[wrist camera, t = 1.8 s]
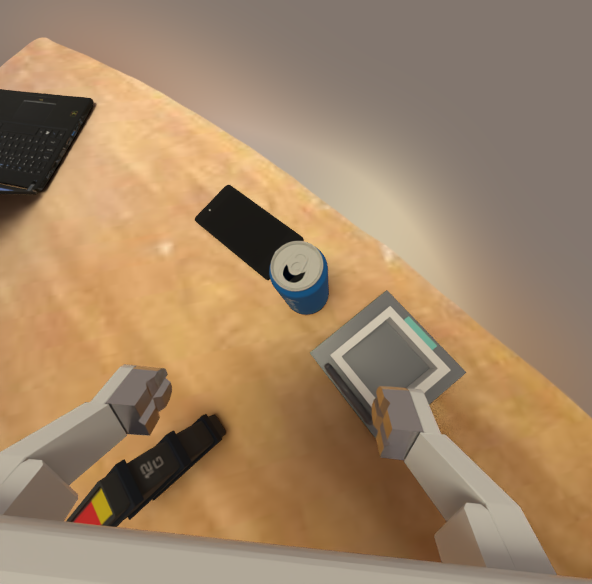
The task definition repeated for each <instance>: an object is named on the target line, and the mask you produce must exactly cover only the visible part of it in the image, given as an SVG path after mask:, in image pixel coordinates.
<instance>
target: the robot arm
mask: <svg viewBox="0 0 592 584" xmlns="http://www.w3.org/2000/svg"><path fill="white" fill-rule="evenodd" d="M166 376H167V372H166V369H164V368H155V367H146V366H137V365H126V364H124V365H123V366H121V367H120V368H119V369H118V370H117V371H116V372H115V373H114V375H113V376H112V377H111V378H110V379H109V380H108V382H107V383H106V384H105V385H104V386H103V388H102V389H101V390H100V391H99V392H98V393H97V395H96V396H95V397H94V398H93V399H92V401H91V402H85V403H84V404H82V405H80V406H78V407H77V408H75V409H73V410H72V411H70V412H68V413H67V414H65V415H63V416H61V417H60V418H58V419H56V420H55V421H53V422H51V423H49V424H48V425H46V426H44V427H43V428H41V429H39V430H37V431H36V432H34V433H32V434H31V435H29V436H27V437H25V438H24V439H22V440H20V441H19V442H17V443H15V444H13V445H12V446H10V447H8V448H7V449H5V450H3V451H1V452H0V584H592V579H588V578H579V577H570V576H561V575H557V574H556V572H555V570H554V569H553V567H552V565H551V563H550V561H549V559H548V558H547V556H546V554H545V552H544V550H543V548H542V546H541V545H540V543H539V541H538V539H537V537H536V535H535V534H534V532H533V530H532V528H531V526H530V524H529V522H528V521H527V519H526V517H525V515H524V513H523V511H522V510H521V508H520V506H519V505H518V504H517V503H515V502H514V501H513V500H512V499H511V498H510V497H509V496H508V495H507V494H506V493H505V492H504V491H503V490H502V489H501V488H500V487H499V486H498V485H497V484H496V483H495V482H494V481H493V480H492V479H491V478H490V477H489V476H488V475H487V474H486V473H485V472H484V471H483V470H481V469H480V468H479V467H478V466H477V465H476V464H475V463H474V462H473V461H472V460H471V459H470V458H469V457H468V456H467V455H466V454H465V453H464V452H463V451H462V450H461V449H460V448H459V447H458V446H457V445H456V444H455V443H454V442H453V441H452V440H451V439H450V438H449V437H448V436H446V435H444V434H441V432H440V430H439V428H438V425H437V423H436V421H435V418H434V416H433V413H432V411H431V409H430V406H429V404H428V401H427V399H426V397H425V394H424V392H423V391H422V390H421V389H409V388H401V387H386V386H379V387H378V388H377V391H376V394H377V398H375V399H374V400H373V404H372V420H373V425H374V427H375V428H376V429H377V430H378V433H377V436H376V441H377V446H378V451H379V456H380V457H382V458H390V459H398V460H404V462H405V464H406V465H407V467H408V468H409V469H410V471H411V472H412V474H413V475H414V476H415V478H416V479H417V481H418V482H419V483H420V485H421V486H422V488H423V489H424V491H425V492H426V493H427V495H428V496H429V498H430V499H431V500H432V502H433V503H434V505H435V506H436V507H437V509H438V510H439V512H440V513H441V514H442V516H443V517H444V519H445V520H446V521H447V522H446V523H445V524H444V525H443V526H442V527H441V528H440V529H439V530H438V531H437V532H436V534H435V535H434V537H435V541H436V544H437V548H438V551H439V555H440V558H441V562H442V563H441V562H432V561H423V560H414V559H405V558H395V557H386V556H377V555H368V554H359V553H350V552H340V551H331V550H322V549H313V548H304V547H294V546H285V545H276V544H267V543H258V542H249V541H239V540H230V539H221V538H212V537H203V536H194V535H184V534H175V533H166V532H157V531H148V530H138V529H129V528H120V527H111V526H102V525H93V524H83V523H74V522H65V521H64V520H65V518H66V517H67V515H68V514H69V512H70V510H71V509H72V507H73V506H74V504H75V503H76V501H77V500H78V494H77V493H76V492H75V491H74V490H73V489H72V488H71V487H70V486H69V485H70V484H71V483H72V482H73V481H75V480H76V479H77V478H78V477H79V476H80V475H82V474H83V473H84V472H85V471H86V470H87V469H89V468H90V467H91V466H92V465H93V464H94V463H96V462H97V461H98V460H99V459H100V458H101V457H103V456H104V455H105V454H106V453H107V452H108V451H110V450H111V449H112V448H113V447H114V446H115V445H117V444H118V443H119V442H120V441H121V440H122V439H124V438H125V437H126V436H127V434H134V435H151V433H152V431H153V429H154V427H155V426H156V424H157V422H158V420H159V418H160V416H159V411H161V410H162V409H164V408H165V407H166V406H167V404H168V402H169V400H170V397H171V393H172V386H171V383H170V381H168V380H167V379H166Z"/></svg>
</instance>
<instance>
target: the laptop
mask: <svg viewBox="0 0 592 584" xmlns="http://www.w3.org/2000/svg"><path fill="white" fill-rule="evenodd" d="M92 106H93V100H92V99H91V98H84V97H73V96H62V95H52V94H41V93H30V92H20V91H11V90H2V89H0V183H3V184H10V185H14V186H19V187H23V188H24V187H25V188H28V189H27V190H26V189H21V188H16V187H11V186H7V185H2V184H0V194H36V193H38V192H39V191H42V190H43V189H44V187H45V186H46V184H47V182H48V181H49V179H50V177H51V176H52V174H53V173H54V171H55V169H56V168H57V166H58V164H59V163H60V161H61V159H62V157H63V156H64V154H65V153H66V151H67V149H68V147H69V146H70V144H71V142H72V141H73V139H74V137H75V136H76V134H77V132H78V130H79V129H80V127H81V125H82V124H83V122H84V120H85V118H86V117H87V115H88V113H89V111H90V109H91V108H92Z"/></svg>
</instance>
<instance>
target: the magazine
mask: <svg viewBox="0 0 592 584" xmlns="http://www.w3.org/2000/svg"><path fill="white" fill-rule="evenodd" d="M225 433H226V431H225V429H224V428H223V426H222V425H221V423H220V422H219V420H218V419H217V417H216V416H215V415H212V416H210V417H208V416H207V414H205V415H203V416H201V417H200V418H199V419H198V420H197V421H196V422H195V423H194V424H193V425H191V426H190V427H188V428H186V429H184V430H183V431H181V432H179V433H177V434H176V433H175V431H172V432H170V433H168V434H167V435H166V436H165V437H164V438H163V439H162V440H161V441H160V442H159V443H158V444H157V445H156V446H155V447H153V448H152V449H150V450H148V451H146V452H145V453H143V454H142V455H140V456H138V457H137V458H135V459H134V460H132V461H130V462H129V463H126V461H125V460H122V461H121V462H119V463H117V464H116V465H115V466H114V467H113V468H112V469H111V471H110V472H109V473H108V474H107V476H106V477H105V478H103V479H102V480H100V481H98V482H97V484H96V485H95V486H94V487H93V489H92V490H91V491H90V492H89V494H88V495H87V496H86V497H85V499H84V500H83V501H82V502H81V504H80V505H79V506H78V507H77V509H76V510H75V511H74V512H73V514H72V515H71V516H70V517H69V518H68V520H67V521H66V522H74V523H83V524H93V525H102V526H111V527H117V526H118V525H119V524H120V523H121V522H122V521H123V520H124V519H126V518H127V517H128V518H129V520H130V519H131V518H132V517H134V516H135V515H136V514H137V513H138V512H139V511H140V510H141V509H142V508H143V507H144V506H145V505H147V504H148V503H149V502H150V501H151V500H152V499H153V500H155V499H156V498H157V497H158V496H160V495H161V494H162V493H163V492H164V491H165V490H166V489H167V488H168V487H170V486H171V485H172V484H173V483H174V482H175V481H176V480H177V479H178V478H180V477H181V476H182V475H183V474H184V473H185V472H186V471H187V470H188V469H190V468H191V467H192V466H193V465H194V464H195V463H196V462H197V461H199V460H200V459H201V458H202V457H203V456H204V455H205V454H206V453H207V452H209V451H210V450H211V449H212V448H213V447H214V446H215V445H216V444H217V443H219V442H220V441H221V440H222V437H223V436H224V435H225Z"/></svg>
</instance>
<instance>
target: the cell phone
mask: <svg viewBox="0 0 592 584" xmlns="http://www.w3.org/2000/svg"><path fill="white" fill-rule="evenodd" d="M195 221H196V222H197V223H198V224H199V225H201V226H202V227H203V228H204V229H205V230H207V231H208V232H209V233H210V234H211V235H213V236H214V237H215V238H216V239H218V240H219V241H220V242H221V243H222V244H224V245H225V246H226V247H227V248H228V249H230V250H231V251H232V252H233V253H235V254H236V255H237V256H238V257H239V258H241V259H242V260H243V261H244V262H245V263H247V264H248V265H249V266H250V267H252V268H253V269H254V270H255V271H256V272H258V273H259V274H260V275H261V276H262V277H264V278H265V279H266V280H269V279H270V274H269V269H270V264H271V261H272V258H273V256H274V254H275V252H276V251H277V250H278V249H279V248H280V247H282V246H283V245H285V244H287V243H289V242H293V241H303V237H301V236H300V235H299V234H297V233H296V232H295V231H293V230H292V229H290V228H289V227H288V226H286V225H285V224H283V223H282V222H281V221H279V220H278V219H277V218H275V217H274V216H272V215H271V214H270V213H268V212H267V211H265V210H264V209H263V208H261V207H260V206H258V205H257V204H256V203H254V202H253V201H251V200H250V199H249V198H247V197H246V196H245V195H243V194H242V193H240V192H239V191H238V190H236V189H235V188H233V187H232V186H231V185H227V186H225V187H224V188H223V189H222V190H221V191H220V192H219V193H218V194H217V195H216V196H215V197H214V199H213V200H212V201H211V202H210V203H209V204H208V205H207V206H206V207H205V208H204V209H203V210H202V211H201V212H200V213H199V214H198V215H197V216H196V218H195Z"/></svg>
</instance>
